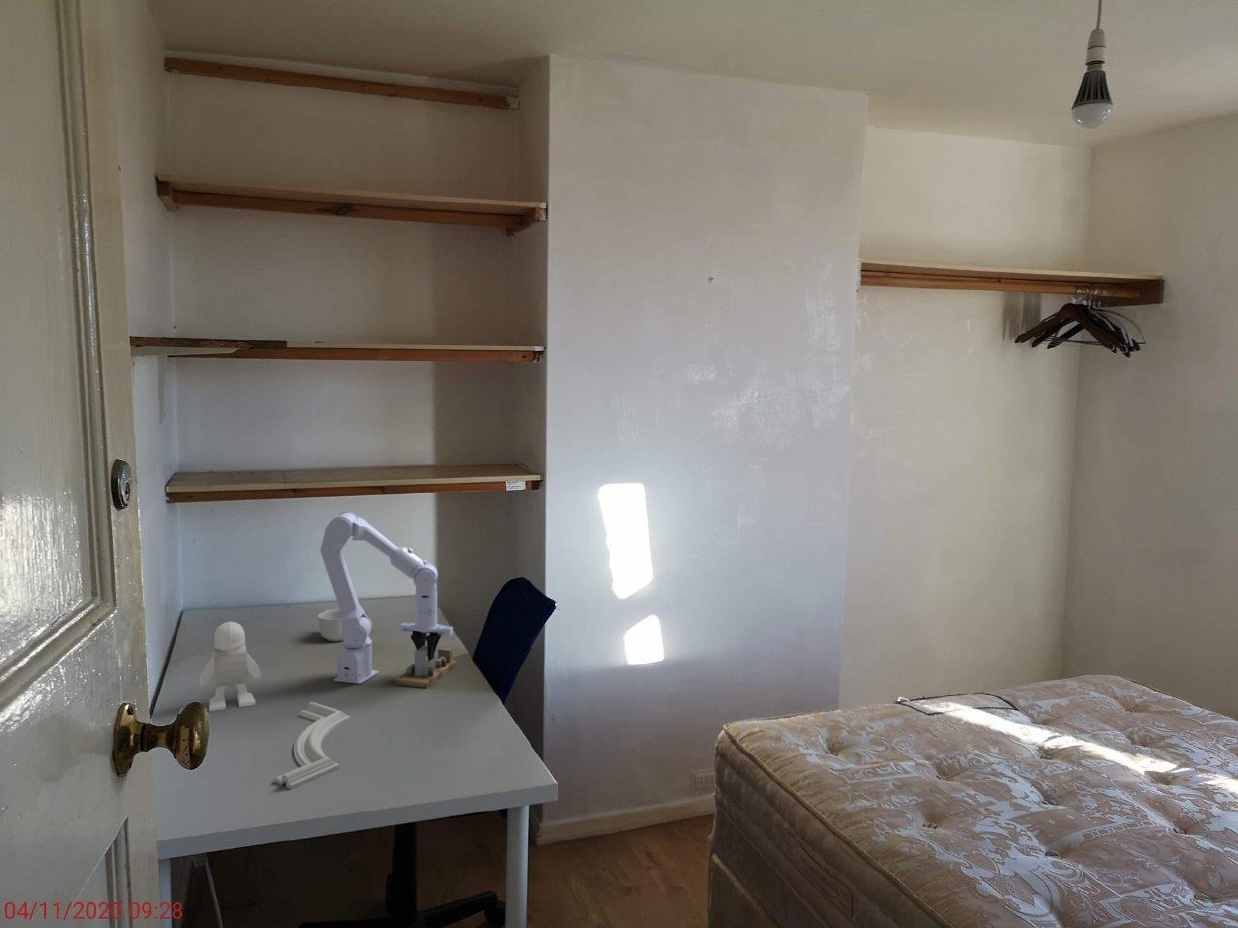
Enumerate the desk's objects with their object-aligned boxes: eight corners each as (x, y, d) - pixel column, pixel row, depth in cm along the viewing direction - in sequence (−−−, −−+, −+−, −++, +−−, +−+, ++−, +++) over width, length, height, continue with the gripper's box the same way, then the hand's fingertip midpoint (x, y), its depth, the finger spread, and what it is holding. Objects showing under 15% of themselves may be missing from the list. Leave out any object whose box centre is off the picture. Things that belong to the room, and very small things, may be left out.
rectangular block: (424, 676, 232) (424, 652, 231) (414, 675, 232) (414, 651, 232) (440, 664, 241) (440, 641, 241) (431, 663, 242) (431, 640, 241)
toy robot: (200, 712, 209) (198, 630, 207) (199, 700, 216) (197, 620, 214) (263, 703, 215) (261, 623, 213) (260, 691, 223) (258, 614, 221)
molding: (301, 712, 211) (300, 700, 211) (353, 708, 214) (353, 697, 214) (270, 793, 170) (269, 779, 170) (335, 787, 173) (335, 773, 172)
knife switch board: (427, 687, 227) (426, 669, 227) (395, 684, 229) (395, 666, 229) (455, 666, 245) (455, 648, 244) (426, 663, 247) (426, 645, 246)
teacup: (359, 640, 267) (359, 614, 266) (323, 645, 261) (322, 619, 260) (347, 629, 279) (347, 604, 278) (312, 633, 273) (311, 608, 272)
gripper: (457, 608, 237) (457, 656, 239) (408, 604, 241) (408, 652, 242) (446, 614, 231) (446, 665, 232) (396, 610, 234) (396, 660, 235)
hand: (426, 659), depth 237 cm, fingers closed on rectangular block, 2 cm apart
